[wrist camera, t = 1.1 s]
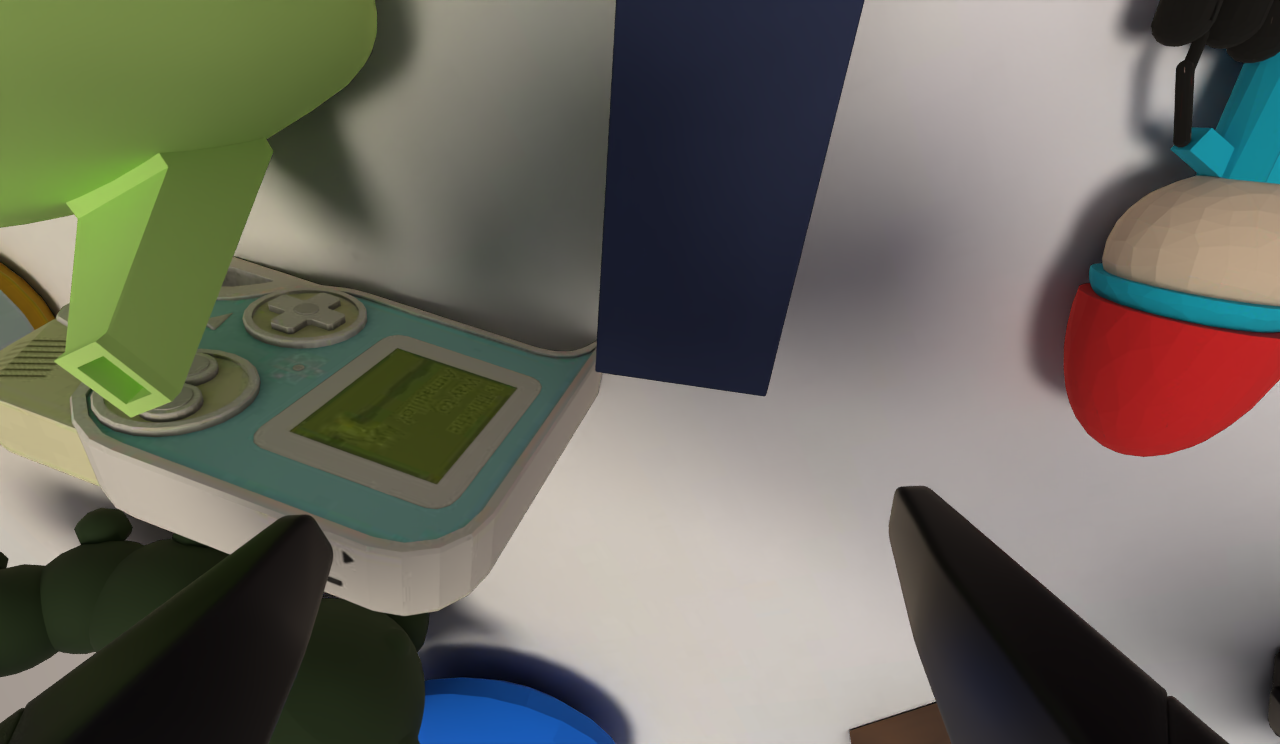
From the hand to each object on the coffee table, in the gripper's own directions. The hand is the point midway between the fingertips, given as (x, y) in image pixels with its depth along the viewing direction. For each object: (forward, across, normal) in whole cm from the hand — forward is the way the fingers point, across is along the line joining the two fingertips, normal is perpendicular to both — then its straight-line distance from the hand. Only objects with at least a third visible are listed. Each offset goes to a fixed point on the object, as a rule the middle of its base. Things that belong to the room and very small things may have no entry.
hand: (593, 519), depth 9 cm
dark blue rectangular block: (+12, -3, -2) cm, 13 cm away
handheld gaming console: (+13, +9, +3) cm, 17 cm away
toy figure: (+12, -16, 0) cm, 20 cm away
